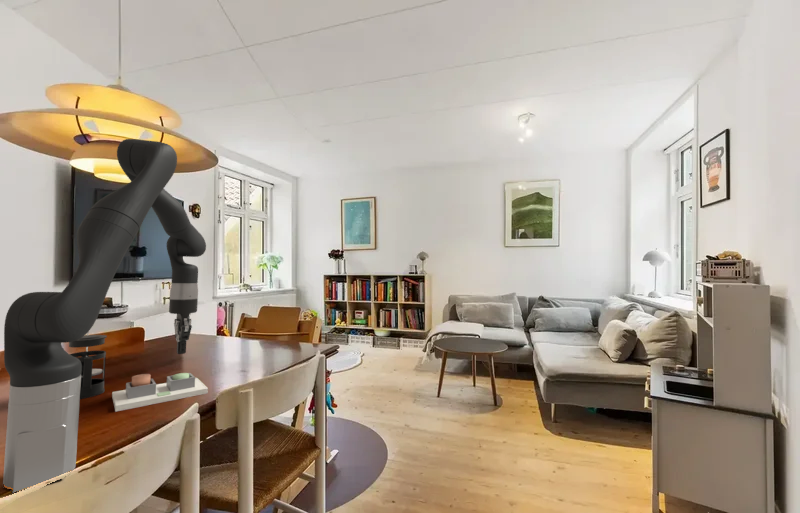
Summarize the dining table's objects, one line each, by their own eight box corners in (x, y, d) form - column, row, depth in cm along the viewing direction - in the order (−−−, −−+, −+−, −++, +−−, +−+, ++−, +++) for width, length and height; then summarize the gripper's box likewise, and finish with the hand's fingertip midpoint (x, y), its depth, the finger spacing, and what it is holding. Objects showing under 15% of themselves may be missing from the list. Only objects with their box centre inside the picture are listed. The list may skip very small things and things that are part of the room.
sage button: (190, 385, 108) (190, 375, 108) (173, 388, 105) (174, 377, 105) (187, 381, 111) (187, 372, 111) (170, 384, 108) (171, 374, 108)
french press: (61, 393, 105) (66, 316, 106) (102, 386, 111) (106, 314, 112) (63, 403, 96) (68, 320, 98) (107, 395, 103) (111, 317, 104)
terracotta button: (151, 386, 101) (151, 376, 101) (132, 390, 98) (132, 379, 98) (149, 383, 104) (149, 372, 104) (130, 386, 101) (131, 375, 101)
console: (207, 393, 107) (208, 378, 107) (115, 411, 92) (116, 394, 92) (196, 382, 117) (197, 368, 117) (112, 397, 102) (112, 381, 102)
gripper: (202, 298, 107) (200, 355, 106) (192, 296, 116) (190, 348, 115) (174, 299, 102) (170, 359, 101) (166, 296, 111) (163, 351, 110)
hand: (181, 353), depth 108 cm, fingers closed
